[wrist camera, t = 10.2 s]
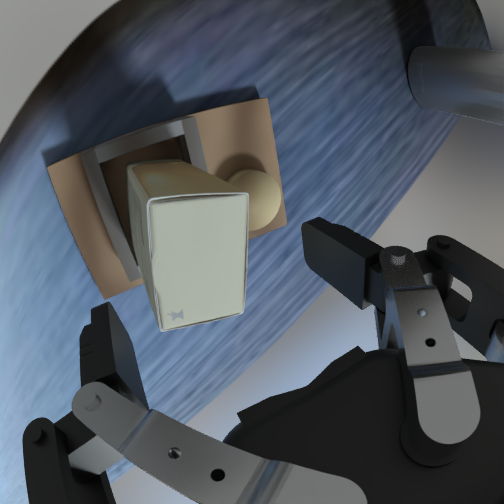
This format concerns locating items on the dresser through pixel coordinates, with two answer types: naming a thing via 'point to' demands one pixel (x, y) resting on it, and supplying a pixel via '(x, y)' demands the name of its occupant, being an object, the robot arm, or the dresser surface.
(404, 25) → the dresser surface
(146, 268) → the skincare box
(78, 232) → the carrier plate
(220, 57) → the dresser surface
